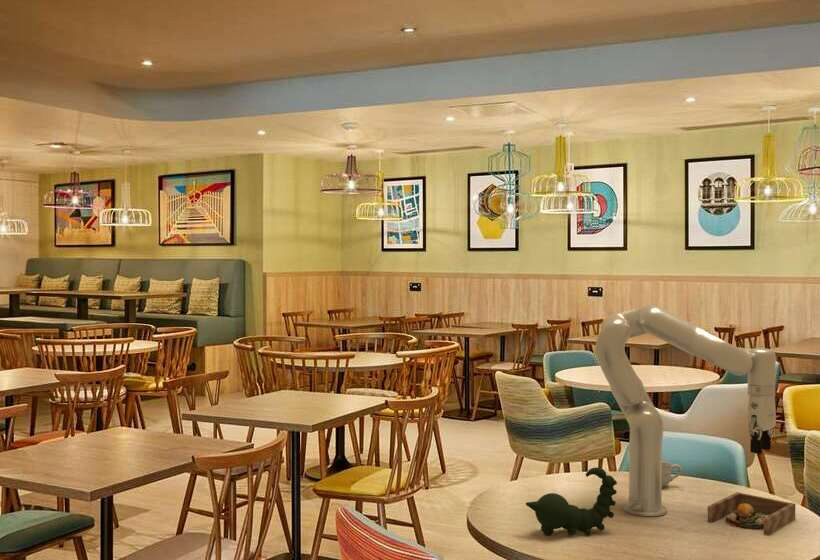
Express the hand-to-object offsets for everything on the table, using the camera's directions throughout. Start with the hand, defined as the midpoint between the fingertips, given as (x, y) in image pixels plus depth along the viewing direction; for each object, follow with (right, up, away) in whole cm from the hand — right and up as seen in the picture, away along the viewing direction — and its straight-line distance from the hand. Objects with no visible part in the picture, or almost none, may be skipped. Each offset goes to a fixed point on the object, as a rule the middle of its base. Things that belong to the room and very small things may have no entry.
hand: (760, 450), depth 252 cm
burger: (-6, -20, -6) cm, 22 cm away
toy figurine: (-59, -20, -15) cm, 64 cm away
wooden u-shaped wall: (-4, -20, -4) cm, 20 cm away
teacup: (-20, -19, +33) cm, 43 cm away
